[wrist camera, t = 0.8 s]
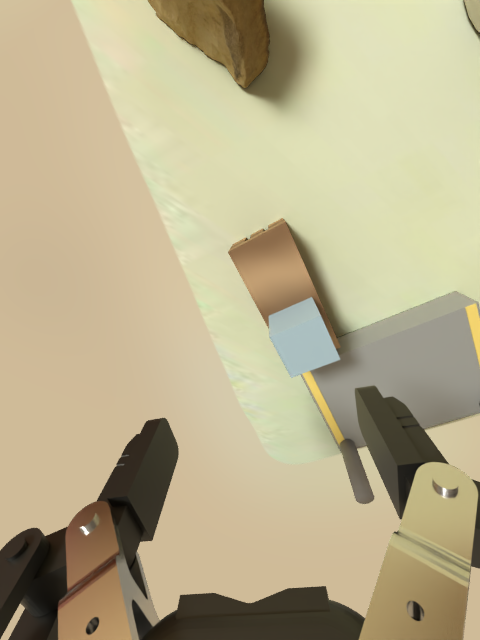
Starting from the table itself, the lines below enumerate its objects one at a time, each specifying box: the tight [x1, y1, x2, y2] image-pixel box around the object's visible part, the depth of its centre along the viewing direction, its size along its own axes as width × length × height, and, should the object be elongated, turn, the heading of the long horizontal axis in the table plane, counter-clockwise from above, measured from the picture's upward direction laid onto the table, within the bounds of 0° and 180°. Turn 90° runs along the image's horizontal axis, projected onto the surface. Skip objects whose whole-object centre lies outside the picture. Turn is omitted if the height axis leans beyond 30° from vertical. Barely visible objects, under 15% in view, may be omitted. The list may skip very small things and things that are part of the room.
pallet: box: [228, 218, 341, 349], centre depth 26 cm, size 12×5×4 cm, turn 28°
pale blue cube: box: [269, 297, 340, 378], centre depth 23 cm, size 4×4×4 cm
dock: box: [300, 291, 480, 504], centre depth 26 cm, size 16×12×9 cm
